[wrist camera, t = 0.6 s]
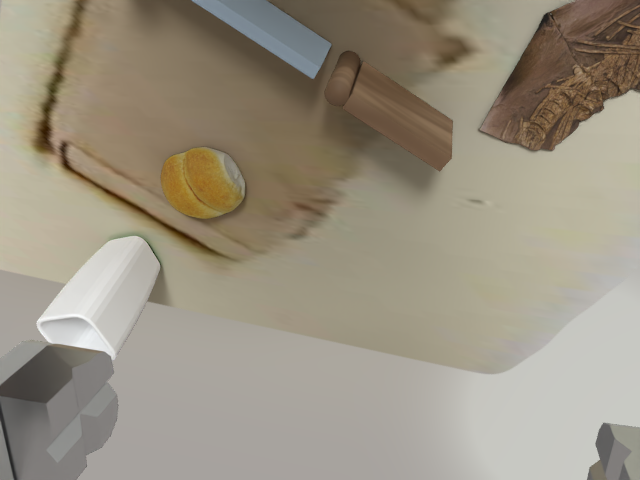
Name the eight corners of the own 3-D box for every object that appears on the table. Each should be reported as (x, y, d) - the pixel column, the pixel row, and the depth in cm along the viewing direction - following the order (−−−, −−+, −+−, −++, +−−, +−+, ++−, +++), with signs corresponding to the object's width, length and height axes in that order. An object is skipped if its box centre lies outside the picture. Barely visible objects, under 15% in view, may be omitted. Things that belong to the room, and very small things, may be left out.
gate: (160, -71, 49) (131, -56, 45) (331, 44, 53) (320, 67, 48) (155, -58, 50) (126, -42, 46) (324, 54, 53) (313, 79, 49)
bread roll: (153, 159, 65) (138, 179, 62) (220, 134, 61) (207, 153, 58) (194, 218, 69) (181, 239, 66) (258, 197, 65) (248, 218, 62)
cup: (97, 234, 73) (29, 320, 62) (146, 225, 71) (84, 312, 59) (126, 278, 77) (67, 366, 65) (173, 271, 74) (121, 361, 63)
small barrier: (131, -100, 49) (89, -84, 43) (455, 117, 55) (454, 155, 50) (122, -73, 50) (81, -54, 45) (439, 136, 56) (436, 174, 51)
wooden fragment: (515, 170, 57) (516, 176, 57) (444, 88, 54) (444, 93, 53) (820, -20, 43) (827, -16, 43) (752, -148, 40) (758, -146, 39)
